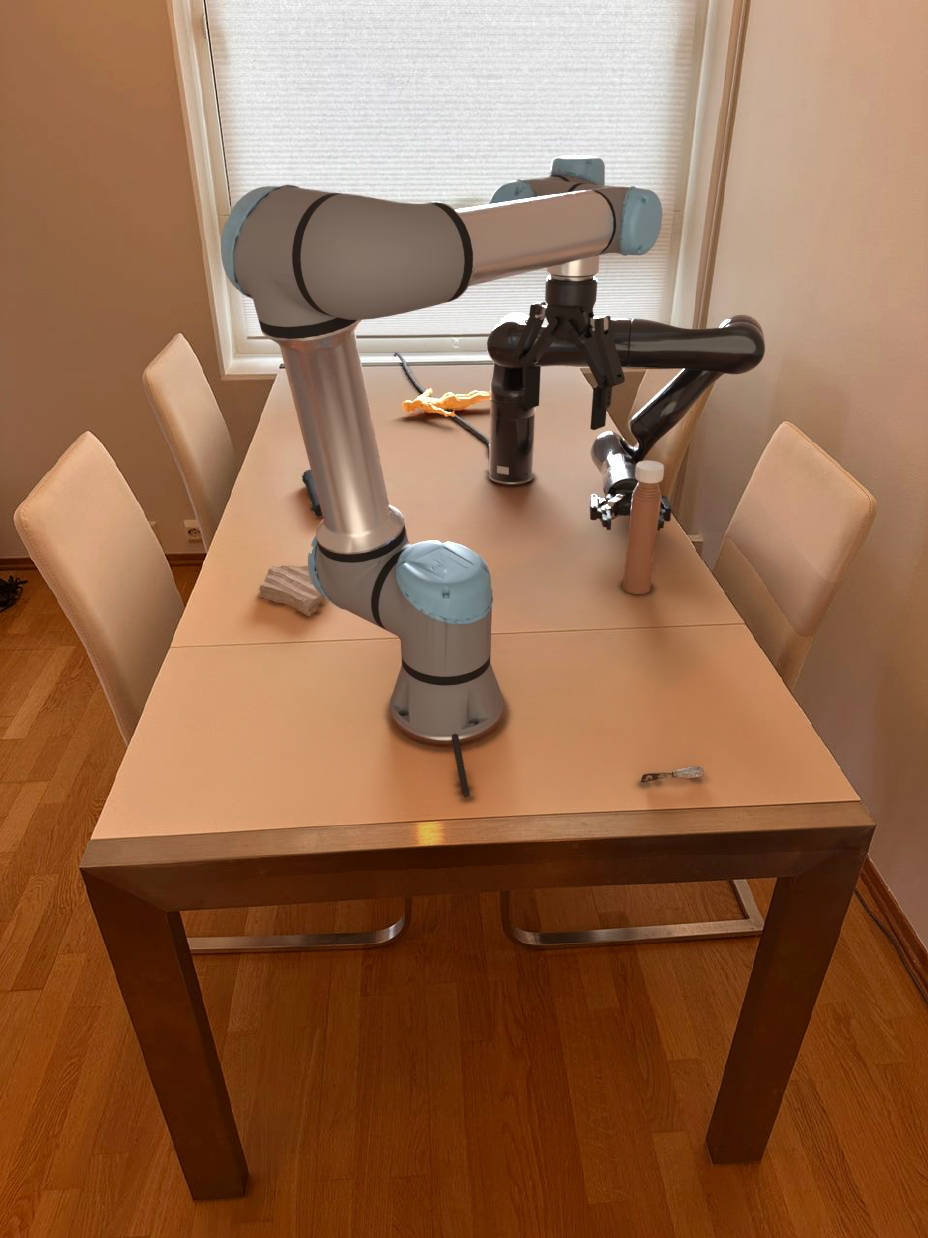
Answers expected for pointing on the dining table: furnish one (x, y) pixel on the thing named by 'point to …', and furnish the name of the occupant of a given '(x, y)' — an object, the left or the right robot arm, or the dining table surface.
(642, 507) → the bottle
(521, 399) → the right robot arm
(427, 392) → the human figure
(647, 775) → the putty knife
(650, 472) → the cap
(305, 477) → the handgun
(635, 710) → the dining table surface
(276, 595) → the stone
